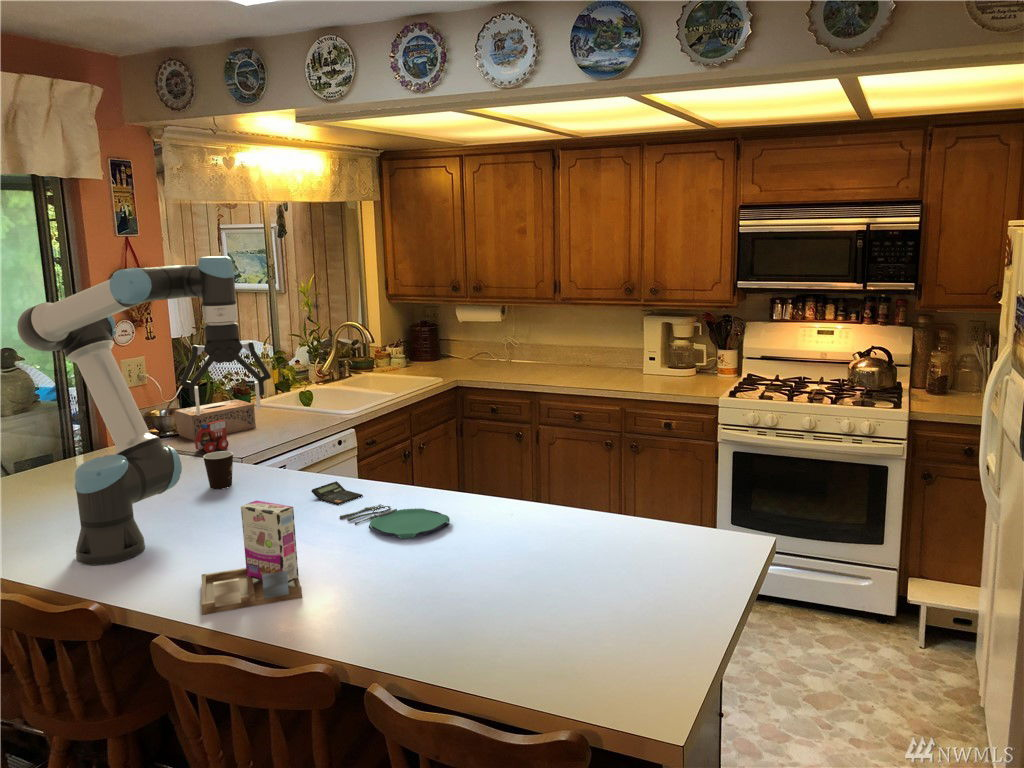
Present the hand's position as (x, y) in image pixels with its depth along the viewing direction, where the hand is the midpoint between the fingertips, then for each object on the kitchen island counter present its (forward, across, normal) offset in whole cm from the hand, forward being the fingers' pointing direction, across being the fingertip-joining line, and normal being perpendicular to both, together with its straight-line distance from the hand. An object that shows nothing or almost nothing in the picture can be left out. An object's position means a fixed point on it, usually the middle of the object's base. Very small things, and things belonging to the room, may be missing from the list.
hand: (229, 411), depth 191 cm
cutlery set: (+35, +40, +2) cm, 53 cm away
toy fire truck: (+35, -6, +103) cm, 109 cm away
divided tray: (+35, +1, -26) cm, 43 cm away
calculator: (+35, +28, +30) cm, 54 cm away
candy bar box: (+33, +6, -26) cm, 42 cm away
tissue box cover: (+35, -4, +133) cm, 138 cm away
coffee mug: (+35, -3, +57) cm, 67 cm away
